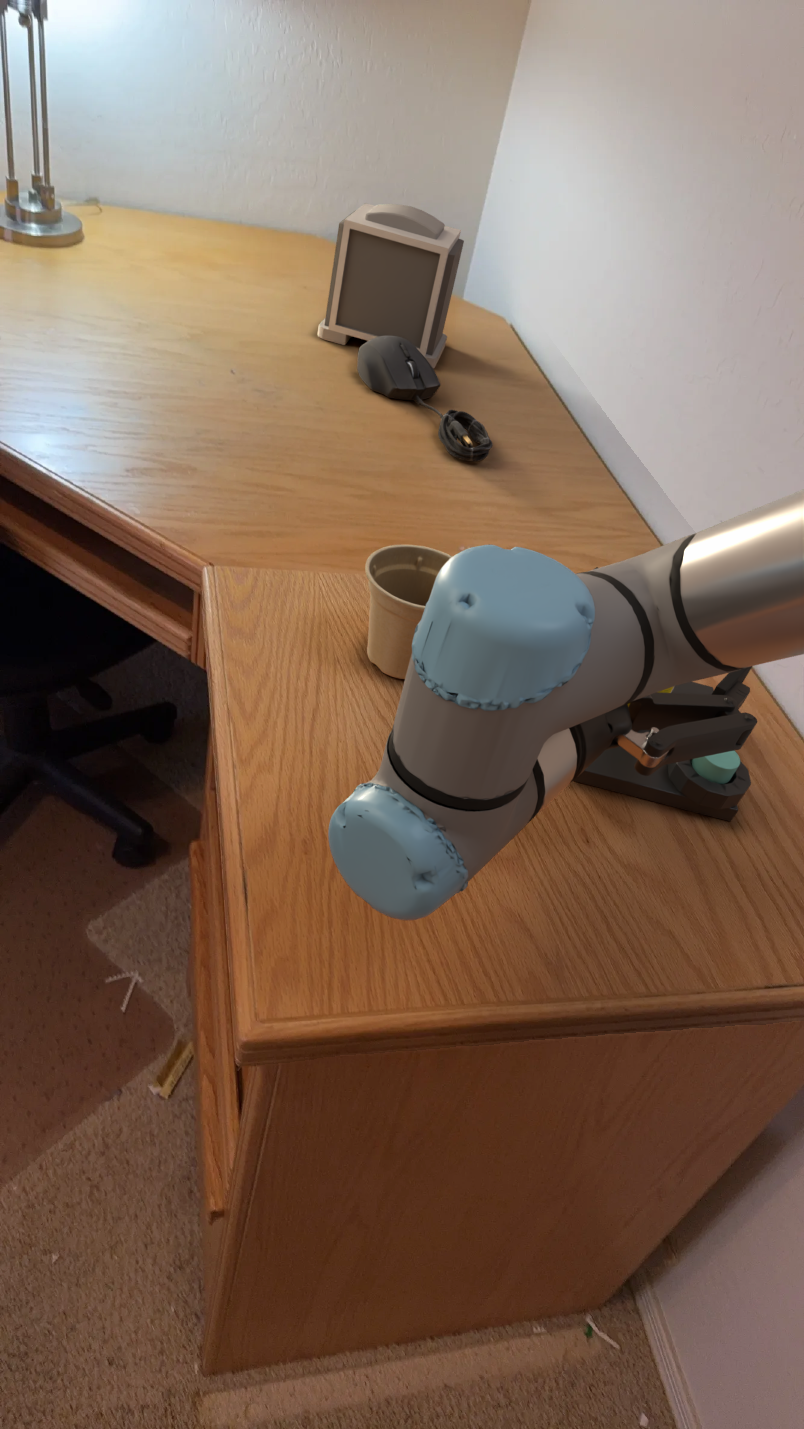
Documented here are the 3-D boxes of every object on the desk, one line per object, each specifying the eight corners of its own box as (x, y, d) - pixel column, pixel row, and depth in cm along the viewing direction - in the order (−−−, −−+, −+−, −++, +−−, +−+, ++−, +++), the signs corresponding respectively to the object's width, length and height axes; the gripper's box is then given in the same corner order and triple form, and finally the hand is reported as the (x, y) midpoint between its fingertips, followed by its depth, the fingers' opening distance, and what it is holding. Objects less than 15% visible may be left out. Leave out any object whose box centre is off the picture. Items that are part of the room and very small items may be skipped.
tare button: (733, 788, 68) (743, 773, 67) (693, 778, 68) (703, 762, 67) (727, 761, 71) (737, 745, 70) (689, 751, 71) (698, 735, 70)
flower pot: (334, 627, 78) (350, 543, 72) (430, 623, 81) (452, 542, 76) (368, 697, 71) (388, 611, 66) (470, 688, 75) (498, 606, 70)
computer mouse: (394, 361, 131) (402, 323, 127) (513, 465, 112) (525, 424, 108) (338, 360, 126) (344, 321, 123) (451, 468, 107) (462, 426, 104)
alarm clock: (445, 344, 142) (475, 219, 130) (433, 370, 131) (464, 237, 120) (336, 313, 142) (356, 185, 130) (315, 336, 132) (334, 200, 120)
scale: (738, 829, 69) (756, 803, 67) (572, 785, 69) (585, 758, 67) (712, 699, 82) (726, 675, 80) (572, 662, 81) (583, 637, 79)
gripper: (369, 682, 62) (525, 587, 76) (677, 897, 53) (789, 744, 67) (389, 595, 57) (552, 511, 72) (733, 815, 48) (841, 668, 62)
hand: (667, 623), depth 69 cm, fingers open, 13 cm apart
